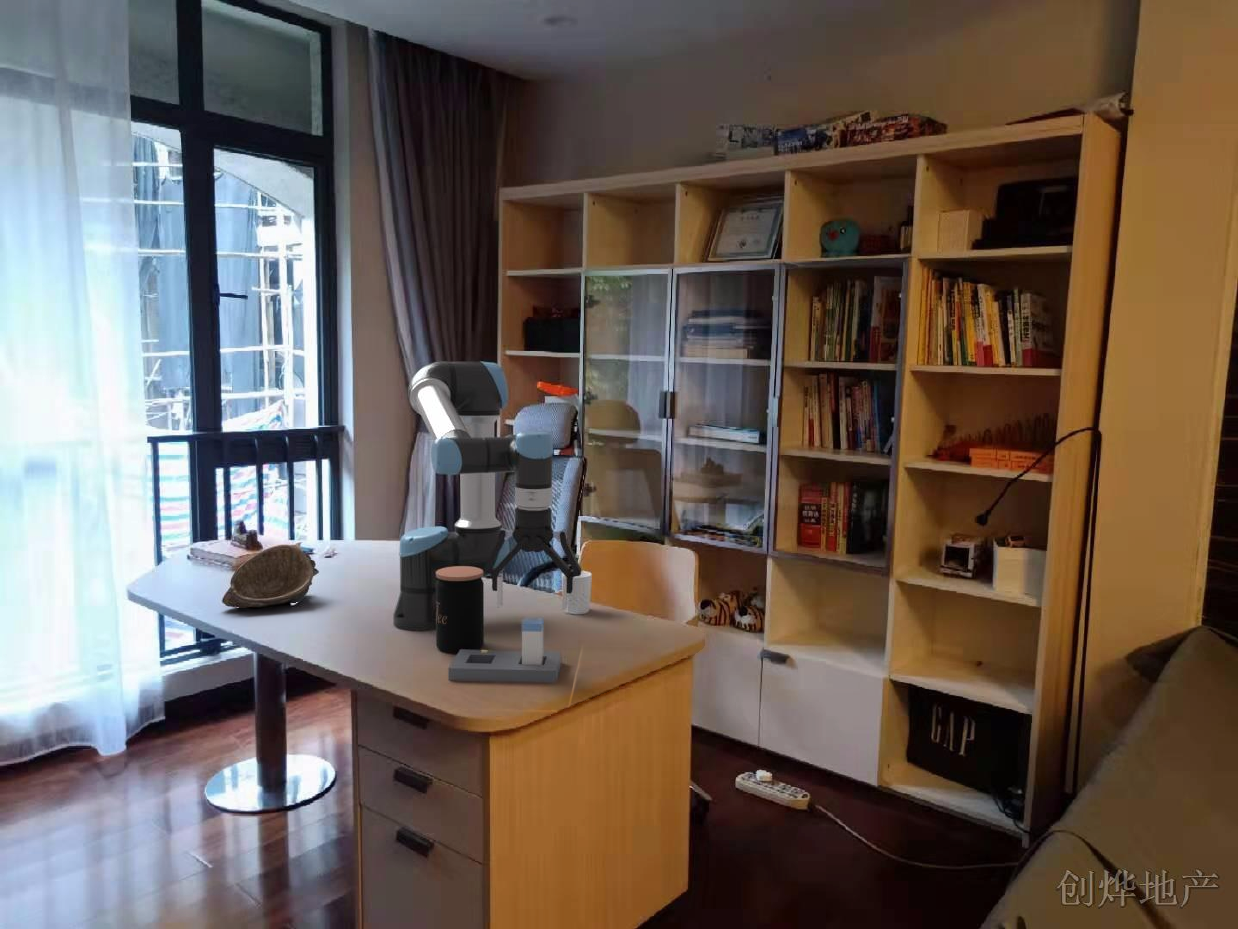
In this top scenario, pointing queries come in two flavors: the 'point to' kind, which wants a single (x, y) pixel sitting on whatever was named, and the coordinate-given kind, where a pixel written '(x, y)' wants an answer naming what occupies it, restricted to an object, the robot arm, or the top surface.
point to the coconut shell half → (271, 578)
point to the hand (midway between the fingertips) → (532, 607)
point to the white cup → (579, 594)
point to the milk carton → (532, 641)
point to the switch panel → (503, 667)
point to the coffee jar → (459, 609)
